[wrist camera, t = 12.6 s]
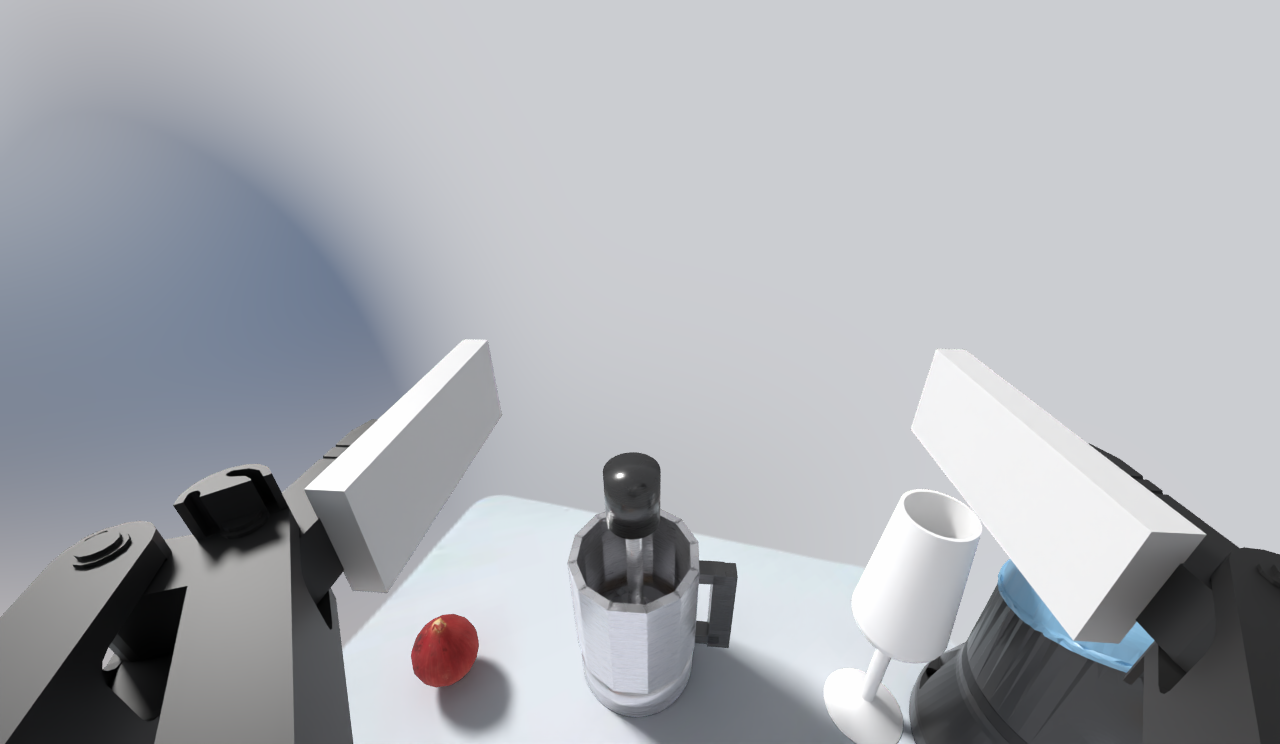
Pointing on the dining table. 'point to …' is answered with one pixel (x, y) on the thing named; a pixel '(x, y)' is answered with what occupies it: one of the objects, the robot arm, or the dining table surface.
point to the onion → (444, 650)
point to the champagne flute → (904, 607)
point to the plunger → (633, 517)
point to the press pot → (645, 614)
